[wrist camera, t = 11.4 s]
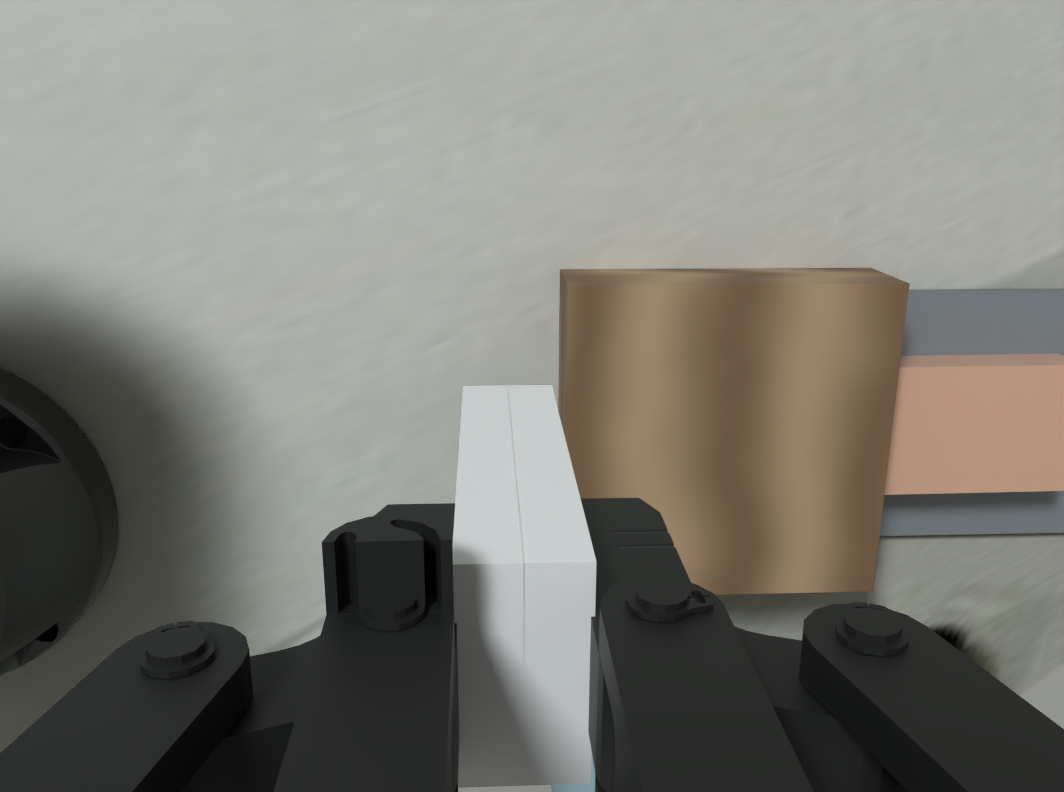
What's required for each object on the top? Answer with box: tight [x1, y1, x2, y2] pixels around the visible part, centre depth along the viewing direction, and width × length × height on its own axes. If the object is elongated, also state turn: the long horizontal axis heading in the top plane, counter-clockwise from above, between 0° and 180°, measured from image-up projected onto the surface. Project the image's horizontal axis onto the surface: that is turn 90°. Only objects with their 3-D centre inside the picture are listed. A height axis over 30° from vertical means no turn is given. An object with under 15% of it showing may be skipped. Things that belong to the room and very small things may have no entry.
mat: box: [879, 289, 1064, 536], centre depth 45 cm, size 14×12×1 cm
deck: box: [558, 268, 909, 595], centre depth 42 cm, size 14×14×4 cm
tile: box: [884, 354, 1064, 495], centre depth 44 cm, size 9×6×2 cm, turn 90°
